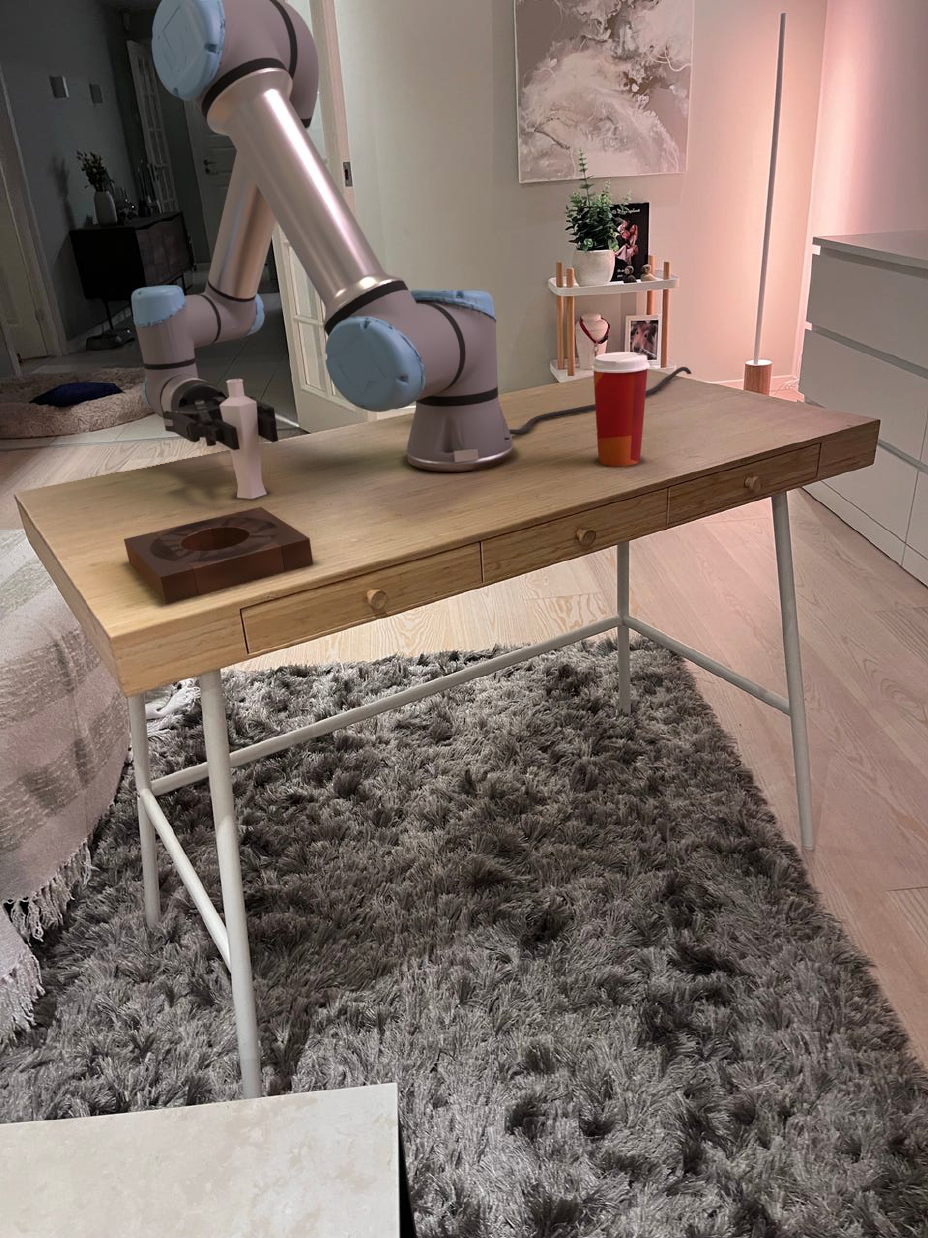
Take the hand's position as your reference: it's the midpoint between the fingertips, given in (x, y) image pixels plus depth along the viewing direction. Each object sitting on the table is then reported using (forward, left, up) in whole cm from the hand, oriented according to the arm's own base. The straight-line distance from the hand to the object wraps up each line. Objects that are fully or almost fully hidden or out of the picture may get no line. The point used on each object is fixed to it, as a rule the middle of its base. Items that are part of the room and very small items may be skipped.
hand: (254, 434), depth 117 cm
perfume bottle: (0, -5, -9) cm, 11 cm away
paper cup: (-45, +17, -9) cm, 49 cm away
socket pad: (+12, +17, -9) cm, 22 cm away
